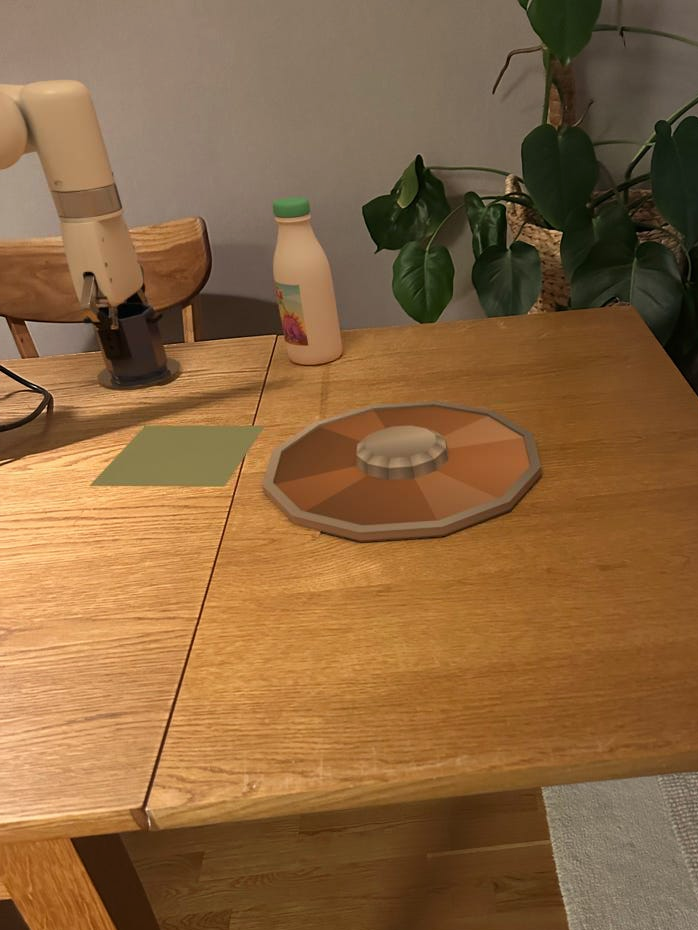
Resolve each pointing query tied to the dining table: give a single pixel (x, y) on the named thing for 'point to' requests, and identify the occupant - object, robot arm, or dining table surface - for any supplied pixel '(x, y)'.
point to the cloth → (180, 456)
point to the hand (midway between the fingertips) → (131, 346)
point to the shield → (402, 471)
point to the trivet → (159, 380)
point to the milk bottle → (304, 287)
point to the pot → (137, 343)
